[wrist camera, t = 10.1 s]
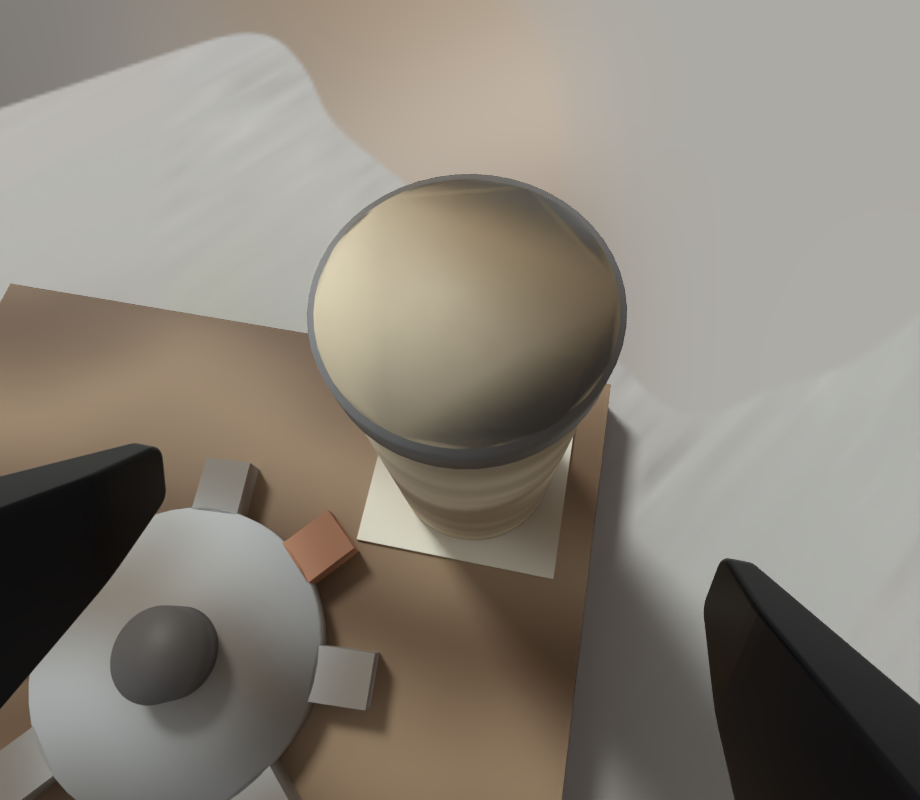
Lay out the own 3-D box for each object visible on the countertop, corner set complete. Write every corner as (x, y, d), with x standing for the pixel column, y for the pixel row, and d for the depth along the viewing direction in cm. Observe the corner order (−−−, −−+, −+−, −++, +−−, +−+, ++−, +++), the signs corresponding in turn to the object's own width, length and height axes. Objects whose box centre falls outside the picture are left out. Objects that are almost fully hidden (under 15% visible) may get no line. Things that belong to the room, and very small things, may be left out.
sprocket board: (532, 964, 15) (546, 1049, 12) (-198, 767, 18) (-342, 797, 14) (602, 400, 21) (623, 362, 18) (39, 304, 23) (-29, 255, 20)
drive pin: (482, 579, 17) (483, 529, 8) (362, 471, 19) (241, 318, 9) (585, 454, 19) (690, 284, 9) (465, 361, 20) (452, 128, 10)
